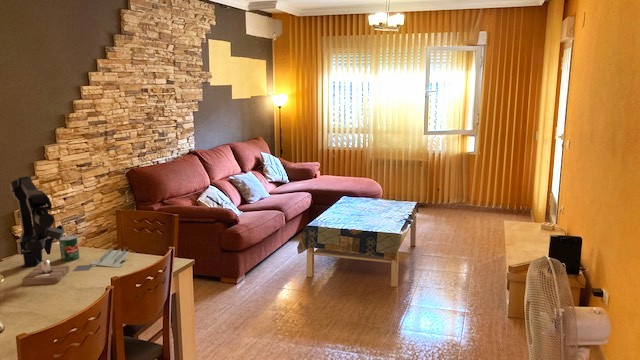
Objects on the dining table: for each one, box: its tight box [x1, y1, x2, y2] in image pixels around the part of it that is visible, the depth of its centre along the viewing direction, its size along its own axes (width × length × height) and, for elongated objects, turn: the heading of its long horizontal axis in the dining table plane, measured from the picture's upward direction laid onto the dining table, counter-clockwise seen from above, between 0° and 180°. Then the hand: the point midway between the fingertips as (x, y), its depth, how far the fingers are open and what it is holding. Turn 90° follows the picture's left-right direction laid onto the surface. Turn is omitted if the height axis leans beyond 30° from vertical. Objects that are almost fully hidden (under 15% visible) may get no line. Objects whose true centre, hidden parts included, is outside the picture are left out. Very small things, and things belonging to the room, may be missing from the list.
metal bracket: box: [89, 248, 131, 269], centre depth 238 cm, size 14×6×15 cm
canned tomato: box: [58, 234, 80, 262], centre depth 242 cm, size 8×8×11 cm
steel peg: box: [40, 259, 51, 274], centre depth 219 cm, size 3×3×8 cm
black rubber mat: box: [72, 264, 93, 272], centre depth 231 cm, size 7×7×1 cm
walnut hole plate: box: [21, 264, 71, 286], centre depth 220 cm, size 14×14×3 cm
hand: (44, 257), depth 218 cm, fingers open, 9 cm apart
